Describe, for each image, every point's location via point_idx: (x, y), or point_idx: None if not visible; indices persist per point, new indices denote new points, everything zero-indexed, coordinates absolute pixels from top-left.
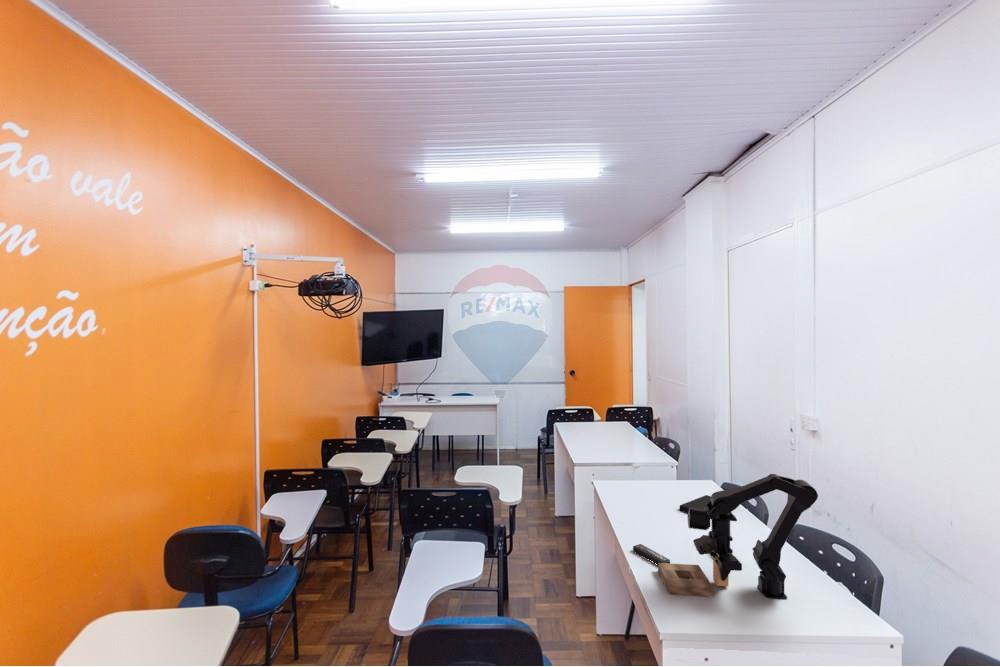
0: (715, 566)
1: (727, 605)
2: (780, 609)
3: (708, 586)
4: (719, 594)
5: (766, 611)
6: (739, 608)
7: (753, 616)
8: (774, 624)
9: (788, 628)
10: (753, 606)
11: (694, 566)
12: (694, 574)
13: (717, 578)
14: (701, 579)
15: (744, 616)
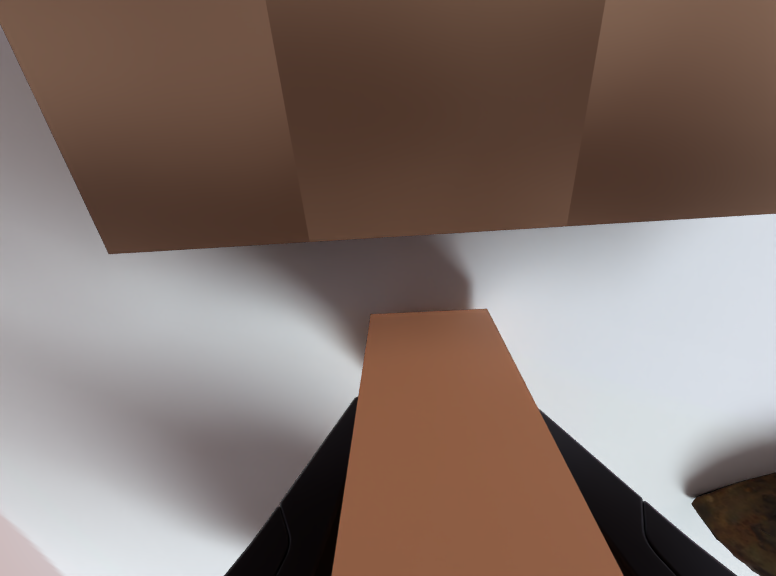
0: (443, 503)
1: (95, 303)
2: (216, 550)
3: (100, 184)
4: (259, 289)
5: (158, 497)
6: (102, 375)
7: (48, 423)
8: (33, 490)
9: (39, 527)
10: (181, 457)
11: (772, 112)
12: (459, 12)
13: (364, 368)
14: (287, 119)
15: (5, 374)
